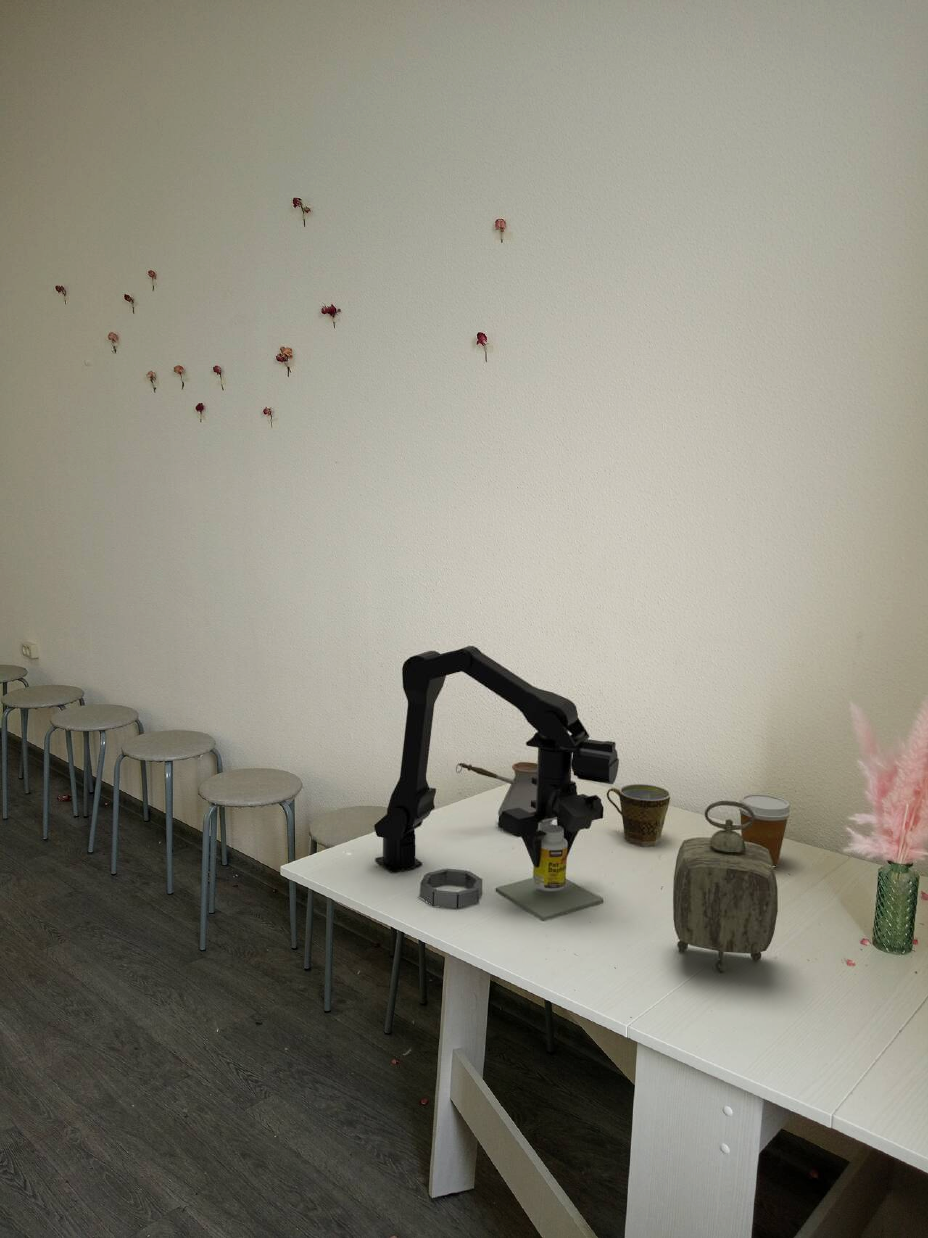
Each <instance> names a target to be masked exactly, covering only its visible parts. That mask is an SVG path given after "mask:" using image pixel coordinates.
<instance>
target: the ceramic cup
mask: <svg viewBox="0 0 928 1238" xmlns="http://www.w3.org/2000/svg"><path fill="white" fill-rule="evenodd" d="M610 792H613V793H615V794H616V795H617V796H618V797H619V804H620V808H619V806H618V805H617V804H616V803H615V802H614V801H613V800H612V799H611V797H610ZM606 798H607V800H608V802H609V803H610V804H611V805H612V806H613V807H614V808H615V809H616V811H617V812H618V813H619V815H620V816H621V818H622V826H623V836H624V839H625V841H627V842H628V843H629V844H631V845H635V846H638V845H639V847H652V846H651V845H655V846H656V845H657V844H659V843H660V841H661V836H662V833H663V828H664V824H665V821H666V815H667V814H668V809H669V805H670V802H671V801H670V800H671V792H669V790H667V789H665V788H663V787H661V786H656V785H651V784H644V783H643V784H642V783H632V784H626V785H623V786H622V787H620V788H619V789H618V788H615V787H612V788H609V789H608V790H607V792H606Z"/></svg>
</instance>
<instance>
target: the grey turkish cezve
mask: <svg viewBox="0 0 928 1238" xmlns="http://www.w3.org/2000/svg"><path fill="white" fill-rule="evenodd" d="M459 766H460V770H459V771H458V767H459ZM511 768H512V770H513V771H514V778H513V779H512V778H509V777H505V776H502V775H500V774H499V775H498V774H497V773H494V772H491V771H490V770H487V769H484V768H482V767H479V766H478V767H477V766H473V765H472V764H466V763H465V762H460V763H458V764H457V765H456V767H455V772H456V773H457V774H459V773H461V772H462V769H467V771H469V772H470V771H472V772H474V773H476V774H478V775H481V776H485V777H488V778H492V779H496V780H499V781H501V782H505V783H507V784H510V786H509V787H508V789H507V792H506V794H505V796H504V799H503V800H502V803H501V804H500V807H499V808H498V812H497V815H498V816H499V814H500V813H501V812H502V811H505V810H509V809H514V808H521V809H523V810H525V811H527V812H529V813H531V812H536V811H535V810H536V809H535V808H533V807H531V801H533V800H536V785H535V784H532V777H537V763H536V762H531V761H530V762H529V761H527V762H526V761H519V762H516V763H514V764H512V766H511ZM552 822H553V820H550V821H546V822H542V826H543V825H548V824H552Z"/></svg>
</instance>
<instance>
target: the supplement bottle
mask: <svg viewBox="0 0 928 1238" xmlns="http://www.w3.org/2000/svg"><path fill="white" fill-rule="evenodd" d="M541 831H543V832H545V833H547V834H546V835H545V836H544V838H543V839H542V841H541V857H540V864H539V867H535V866H534V865H533V867H532V868H533V870H532V871H533V872H532V878H533V884H534V886H535V887H537V888H538V889H540V890H544V891H558V890H561V889H562V888H563V887H564V886H565V881H566V879H567V860H568V856H567V846H568V843H567V840H566V839H565V838H563V836H564V829H563V828H562V827H561V826H558V825H557V824H552V823H551V824H548V825H543V826H541Z"/></svg>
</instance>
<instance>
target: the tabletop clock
mask: <svg viewBox="0 0 928 1238" xmlns="http://www.w3.org/2000/svg"><path fill="white" fill-rule="evenodd" d="M739 802H740V801H739ZM739 802H738V801H733V800H718V801H715V802H712V803H711V804H709V805H708V806H707V807H706V808H705V810H704V818H705V820H706V821H707V822H708V824H710V825H711V826H713V827H716V828H718V829H720V830H717V831H716V832H714V833H713V834H712V836H711V837H707V836H706V837H703V836H702V837H701V836H699V837H697V836H696V837H692V838H688V839H685V840H683V841H682V843H681V845H680V847H679V849H678V852H677V856H676V860H675V867H674V874H673V885H672V886H673V887H672V888H673V890H672V892H673V893H672V896H673V897H672V908H673V909H672V911H673V914H672V915H673V917H672V918H673V925H674V931H675V933H676V936H677V938H678V940H679V941H677V945H676V947H677V948H678V950H679V951H681V952H684V951H686V950H688V948H689V946H692V947H696V948H700V949H706V950H711V951H715V952H718V953H717V954H718V960H717V961H715V963H714V968H715V970H716V971H717V972H719V973H724V972H725V971H726V969H727V964H726V963H725V961H723V960H724V953H733V954H750V958H751V959H752V961H756V962H757V961H760V960H761V959H762V952H765V951H767V950H768V949H769V947H770V945H771V943H772V940H773V937H774V935H775V929H776V923H777V917H778V911H779V908H778V904H779V900H778V899H779V898H778V895H779V892H778V884H777V883H778V882H777V876H776V872H775V868H774V867H773V863H772V859H771V856H770V853H769V851H768V849H766V848H764V847H762V846H760V845H757V844H754V843H750V842H745V841H744V840H743V838H742V836H741V834H740V833H739V832H737V831H741V829H745V828H748V827H749V826H751V825H752V824H753V822H754V820H755V816H754V813H753V811H752V810H751V809H750V808H749V807H748V806H746V805H744V804H742V803H739ZM719 806H729V807H737V808H738V807H740V808H743V809H745V810H746V811H747V812H749V813H750V815H751V818H752V819H751V821H750V822H749V823H747V824H743V825H741V824H739V825H737V824H733V823H734V822H733V820H731V819H729V818H728V819H726V820H725V823H721V822H720V823H719V822H716V821H715V820H712V819H711V818H710V817H709V812H710V811H711V810H712V809H714V808H716V807H719Z"/></svg>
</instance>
